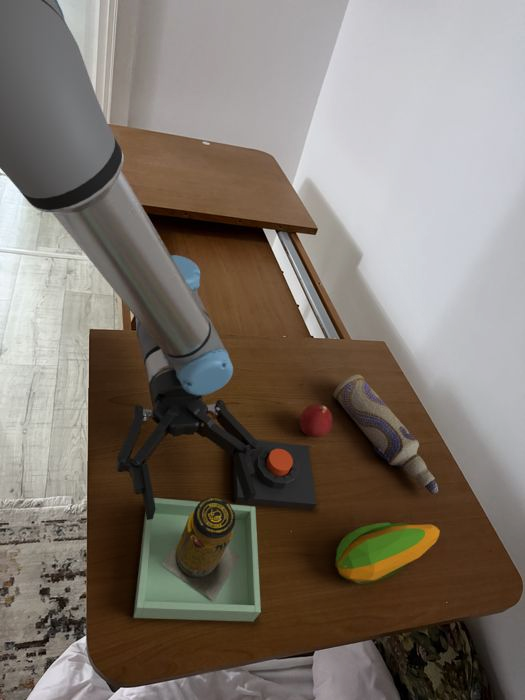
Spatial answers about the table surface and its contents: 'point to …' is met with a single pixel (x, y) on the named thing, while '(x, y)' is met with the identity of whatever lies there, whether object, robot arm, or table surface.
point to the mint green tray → (177, 595)
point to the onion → (316, 420)
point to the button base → (280, 479)
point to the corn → (382, 550)
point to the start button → (279, 462)
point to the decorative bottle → (383, 429)
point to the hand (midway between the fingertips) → (203, 506)
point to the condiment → (205, 548)
